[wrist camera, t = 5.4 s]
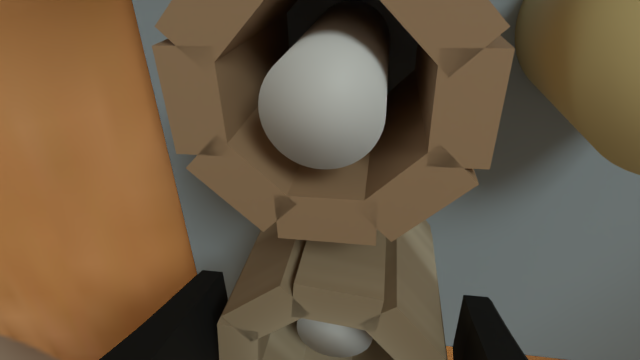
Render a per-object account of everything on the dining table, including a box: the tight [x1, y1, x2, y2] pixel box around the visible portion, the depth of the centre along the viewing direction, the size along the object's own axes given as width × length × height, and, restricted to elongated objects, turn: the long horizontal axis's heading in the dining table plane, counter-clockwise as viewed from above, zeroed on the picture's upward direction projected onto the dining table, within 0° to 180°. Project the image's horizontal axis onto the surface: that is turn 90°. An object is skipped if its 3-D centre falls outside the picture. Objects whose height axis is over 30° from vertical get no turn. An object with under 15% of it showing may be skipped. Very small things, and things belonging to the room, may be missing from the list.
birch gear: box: [217, 220, 447, 360], centre depth 12 cm, size 5×5×5 cm
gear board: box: [132, 0, 640, 360], centre depth 10 cm, size 20×16×7 cm
